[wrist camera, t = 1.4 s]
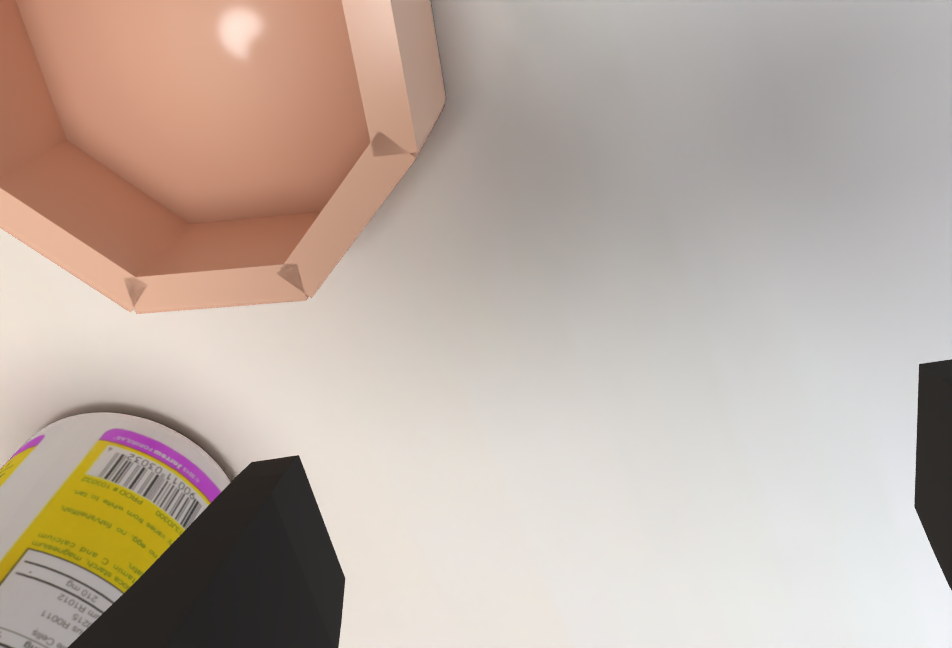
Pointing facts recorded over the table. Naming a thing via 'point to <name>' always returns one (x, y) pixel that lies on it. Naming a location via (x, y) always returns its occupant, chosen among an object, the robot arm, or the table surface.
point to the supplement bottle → (91, 519)
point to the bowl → (208, 138)
